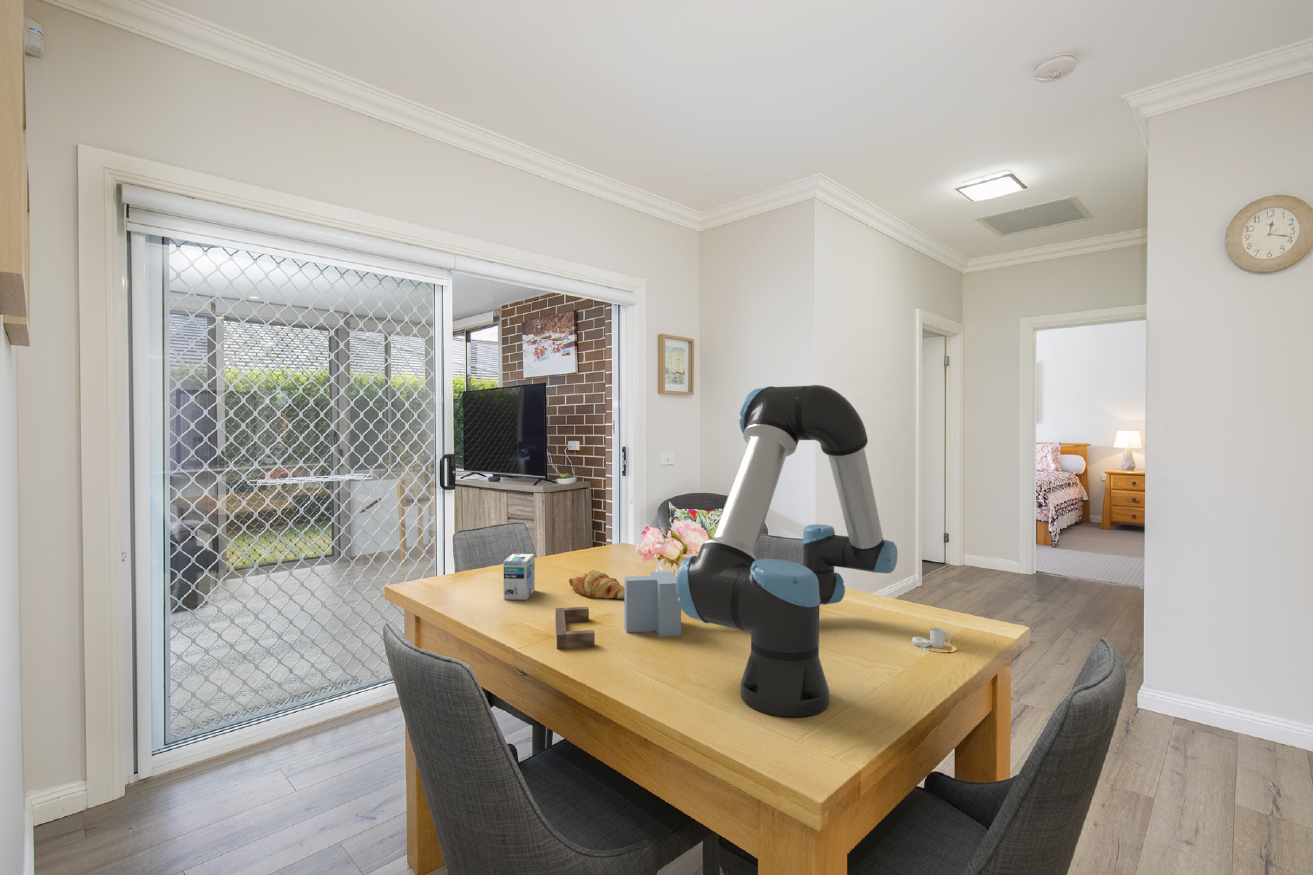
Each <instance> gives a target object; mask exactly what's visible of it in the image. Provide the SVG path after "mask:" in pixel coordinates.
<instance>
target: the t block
mask: <svg viewBox="0 0 1313 875" xmlns="http://www.w3.org/2000/svg"><path fill="white" fill-rule="evenodd" d="M676 581H677V576H676V575H675V574H674V573H673V572H672V571H671V570H667V571H666V570H665V571H651V572H650V575H638V576H624V588H625V593H624V598H623V599H624V600H623V601H624V602H623V604H624V606H623V607H624V611H623V612H624V614H623V615H624V617H623V618H624V619H623V620H624V622H623V623H624V624H623V626H624V630H625V632H626V633H627V634H628V633H644V632H645V633H647V632H656V633H657V635H658V636H659V638H663V637H664V638H665V637H678V636H679V637H680V636H682V609H681V607H680V604H679V601H678V595H677V591H676Z"/></svg>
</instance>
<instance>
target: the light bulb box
mask: <svg viewBox="0 0 1313 875" xmlns="http://www.w3.org/2000/svg"><path fill="white" fill-rule="evenodd" d="M535 555H536V554H534V553H512V554H511V555H509V556H508V557H506V558H505V560H503V600H519V601H520V600H521V601H522V600H524V601H527V600H528V599H529V598H530V597H531V595H532V594H534V592H535V589H536V588H535V586H536V585H535V583H536V579H535V574H536V573H535V572H536V571H535V568H536V567H535V566H536V565H535V564H536V563H535V562H536V561H535V560H536V559H535Z"/></svg>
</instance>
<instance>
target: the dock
mask: <svg viewBox="0 0 1313 875" xmlns="http://www.w3.org/2000/svg"><path fill="white" fill-rule="evenodd" d="M589 610H590V609H589V606H577V607H576V606H575V607H574V606H573V607H571V606H570V607H555V613H554V614H555V616H554V618H555V620H554V621H555V637H556V648H557V650H562V649H564V650H565V649H576V648H577V649H578V648H580V649H581V648H582V649H583V648H594V647H596V646H595V644H596V642H595V641H596V640H595V635H596V634H595V630H594V629H588V630H587V629H585V630H571V631H570V630H569V631H567V627H566V623H578V622H579V623H580V622H581V623H582V622H589V621H590V620H589V619H590V617H589V616H590V615H589V614H590V611H589Z"/></svg>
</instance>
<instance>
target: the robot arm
mask: <svg viewBox="0 0 1313 875" xmlns="http://www.w3.org/2000/svg"><path fill="white" fill-rule="evenodd" d="M739 410H740V411H739V415H740V418H739V420H738V421H739V427H740V428H739V429H740V430H741V433H742V435H743V439H744V441H745V442H746V446H745V448H744V452H743V454H742V456H741V459H740V461H739V465H738V468H737V470H736V474H735V476H734V479H733V482H732V484H731V487H730V488H729V489H730V490H729V493H728V495H727V498H726V500H725V503H724V506H723V509H722V511H721V514H720V517H719V520H718V523H717V525H716V527H715V531H714V533H713V536H712V538H711V539H709V540H707V541H704V542H702V544H701V547H700V549H699V552H698V555H697V556H696V555H691V556H688V557H686V559H684V560H683V561H681V564H680V566H679V568H678V571H677V576H676V578H677V581H676V591H677V595H678V601H679V604H680V607H681V611H683V613H684V614H685V615H686V616H687V617H689V618H690V619H693V620H697V621H701V622H702V623H704V624H712V625H713V624H714V625H717V626H721V627H726V628H731V629H735V630H739V631H743V632H749V633H750V639H751V640H750V641H751V642H750V654H749V656H748V659H747V663H746V665H745V668H744V671H743V674H742V676H741V681H740V698H741V700H742V701H743V702H744V703H745V704H746V705H747V706H748V707H751V708H752V709H754V710H756V711H759V712H760V713H761V712H762V713H765V714H768V715H772V716H778V717H785V718H802V717H808V716H809V717H810V716H814V715H817V714H820V713H822V712H823V711H825V710H826V709H827V708H828V706H829V704H830V690H829V684H828V682H827V679H826V675H825V672H824V670H823V665H822V663H821V659H820V654H819V653H820V650H819V648H820V605H824V606H825V605H830V604H831V605H832V604H836V603H837V604H838V603H840V602H841V601H842V600H843V599H844V597H845V594H846V593H845V592H846V586H845V584H844V583H845V581H844V579H843V577H842V575H841V574H840V573H838V572H837V571H836V572H835V567H837V568H844V569H845V568H846V569H850V570H851V569H852V570H858V571H863V572H869V573H870V572H871V573H874V574H875V573H876V574H891V573H893V571H895V569H896V566H897V563H898V548H897V544H895V542H894V541H891V540H890V541H889V540H888V539H884V534H883V531H882V530H883V529H882V527H881V522H880V517H879V512H878V508H877V503H876V498H875V493H874V490H873V484H872V479H871V473H870V470H869V466H868V461H867V456H866V451H865V448H866V447H867V445H868V435H867V432H866V427H865V424H864V423H863V420H862V418H861V416H860V414H859V413H858V411H857V410H856V408H855V407H854V406H853V405H852V404H851V402H850V401H849V400H848V399H847V398H846V397H844V396H843V395H842V394H841V393H839V392H838V391H836V390H835V389H833V388H831V387H828V386H825V385H819V384H811V385H797V386H796V385H794V386H792V385H791V386H771V385H770V386H765V387H759V388H755V389H753V390H751V391H750V392H748V394H747V395H746V396H745V397H744V399H743V402H742V404H741V407H740V409H739ZM800 441H817V442H818V443H819V444H820V448H821V451H822V453H823V454H824V455H826V456H828V460H829V464H830V468H831V472H832V476H833V477H832V478H833V480H834V484H835V489H836V491H837V495H838V496H837V497H838V501H839V504H840V507H841V512H842V515H843V520H844V524H845V528H846V532H847V536H846V535H838V534H836V531H835V529H834V528H835V527H834V526H831V525H829V524H819V523H818V524H815V523H814V524H809V525H805V527H804V528H803V536H802V564H799V563H797V562H794V561H791V560H784V559H774V558H759V559H757V557H756V555H755V552H756V549H757V546H758V543H759V541H760V537H761V535H762V532H763V528H764V525H765V523H766V520H767V516H768V512H769V510H770V507H771V503H772V500H773V497H774V496H775V495H774V494H775V492H776V488H777V485H778V482H779V479H780V476H781V473H782V469H783V466H784V464H785V461H786V458H787V457H789V456H792V455H793V454H794V453H795V452H796V450H797V446H798V443H799V442H800Z"/></svg>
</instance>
